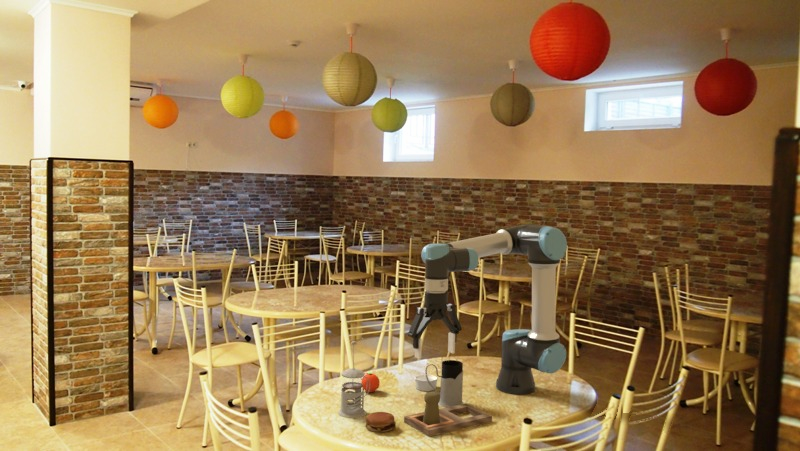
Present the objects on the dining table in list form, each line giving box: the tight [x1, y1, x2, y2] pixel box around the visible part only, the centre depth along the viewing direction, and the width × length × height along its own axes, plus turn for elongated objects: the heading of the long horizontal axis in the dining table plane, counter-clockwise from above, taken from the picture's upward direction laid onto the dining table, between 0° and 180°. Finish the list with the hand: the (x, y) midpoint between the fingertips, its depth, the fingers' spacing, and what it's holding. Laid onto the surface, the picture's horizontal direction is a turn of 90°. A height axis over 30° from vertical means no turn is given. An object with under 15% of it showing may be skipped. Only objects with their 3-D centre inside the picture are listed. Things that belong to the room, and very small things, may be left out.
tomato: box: [360, 372, 380, 393], centre depth 245 cm, size 8×7×7 cm
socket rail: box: [403, 403, 493, 437], centre depth 215 cm, size 26×14×2 cm, turn 123°
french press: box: [337, 340, 370, 419], centre depth 221 cm, size 10×12×25 cm
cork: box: [423, 391, 440, 425], centre depth 211 cm, size 6×6×11 cm
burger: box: [365, 411, 397, 433], centre depth 208 cm, size 10×9×5 cm
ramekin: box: [414, 373, 438, 392], centre depth 250 cm, size 9×9×4 cm
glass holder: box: [425, 359, 464, 408], centre depth 234 cm, size 9×14×15 cm, turn 73°
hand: (434, 355), depth 212 cm, fingers open, 13 cm apart
